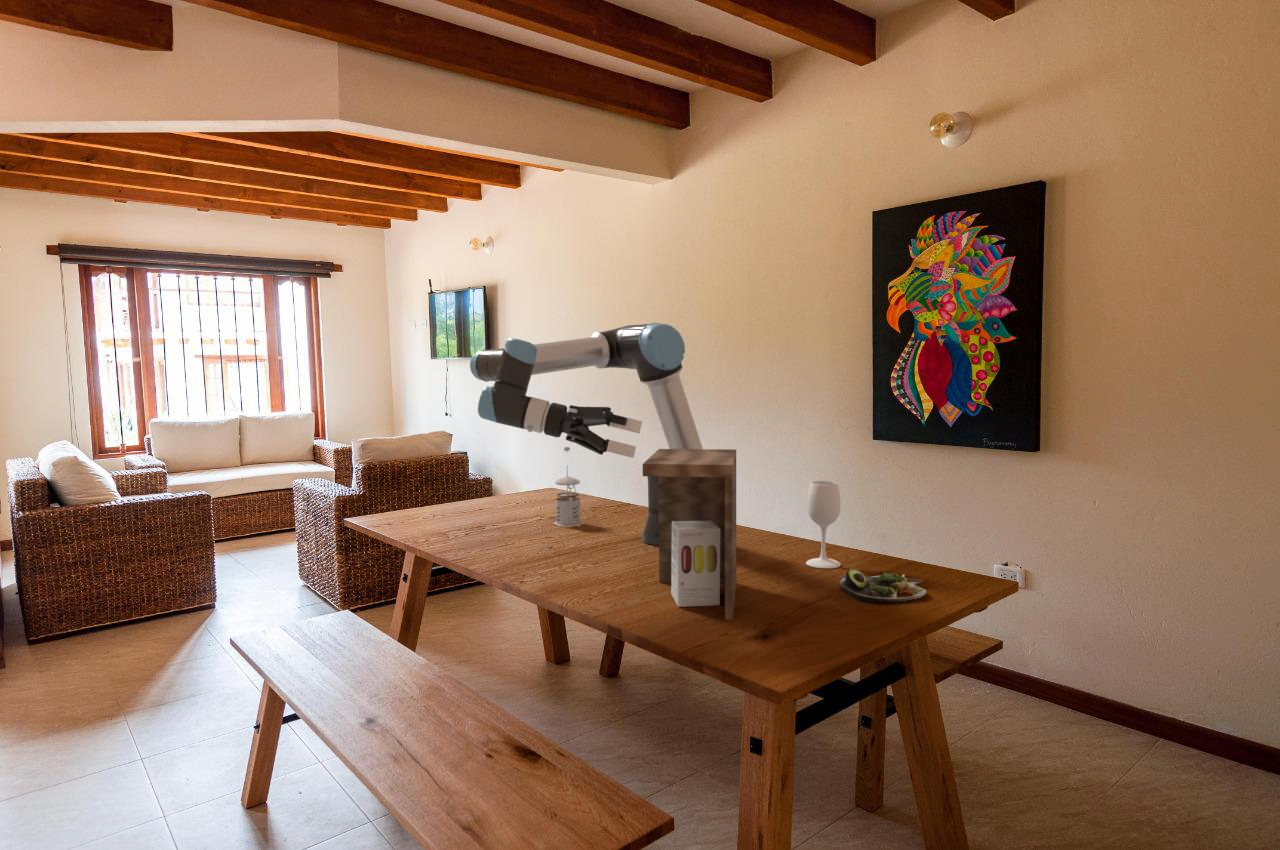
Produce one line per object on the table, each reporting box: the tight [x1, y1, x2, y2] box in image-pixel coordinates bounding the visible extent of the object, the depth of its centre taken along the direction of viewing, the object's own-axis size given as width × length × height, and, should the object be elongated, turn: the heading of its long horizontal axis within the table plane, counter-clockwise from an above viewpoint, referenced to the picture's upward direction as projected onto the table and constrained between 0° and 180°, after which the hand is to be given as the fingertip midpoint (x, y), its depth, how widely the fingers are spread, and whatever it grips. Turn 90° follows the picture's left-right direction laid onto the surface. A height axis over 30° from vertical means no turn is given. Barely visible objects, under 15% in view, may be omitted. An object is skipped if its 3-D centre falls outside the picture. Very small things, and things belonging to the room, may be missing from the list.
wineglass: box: [805, 480, 842, 570], centre depth 197 cm, size 9×9×21 cm
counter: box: [642, 448, 737, 621], centre depth 169 cm, size 18×26×32 cm
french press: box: [553, 446, 584, 527], centre depth 249 cm, size 10×12×25 cm
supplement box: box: [670, 520, 721, 608], centre depth 169 cm, size 10×9×17 cm
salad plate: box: [839, 568, 928, 604], centre depth 175 cm, size 19×18×5 cm
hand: (638, 440), depth 176 cm, fingers open, 13 cm apart
